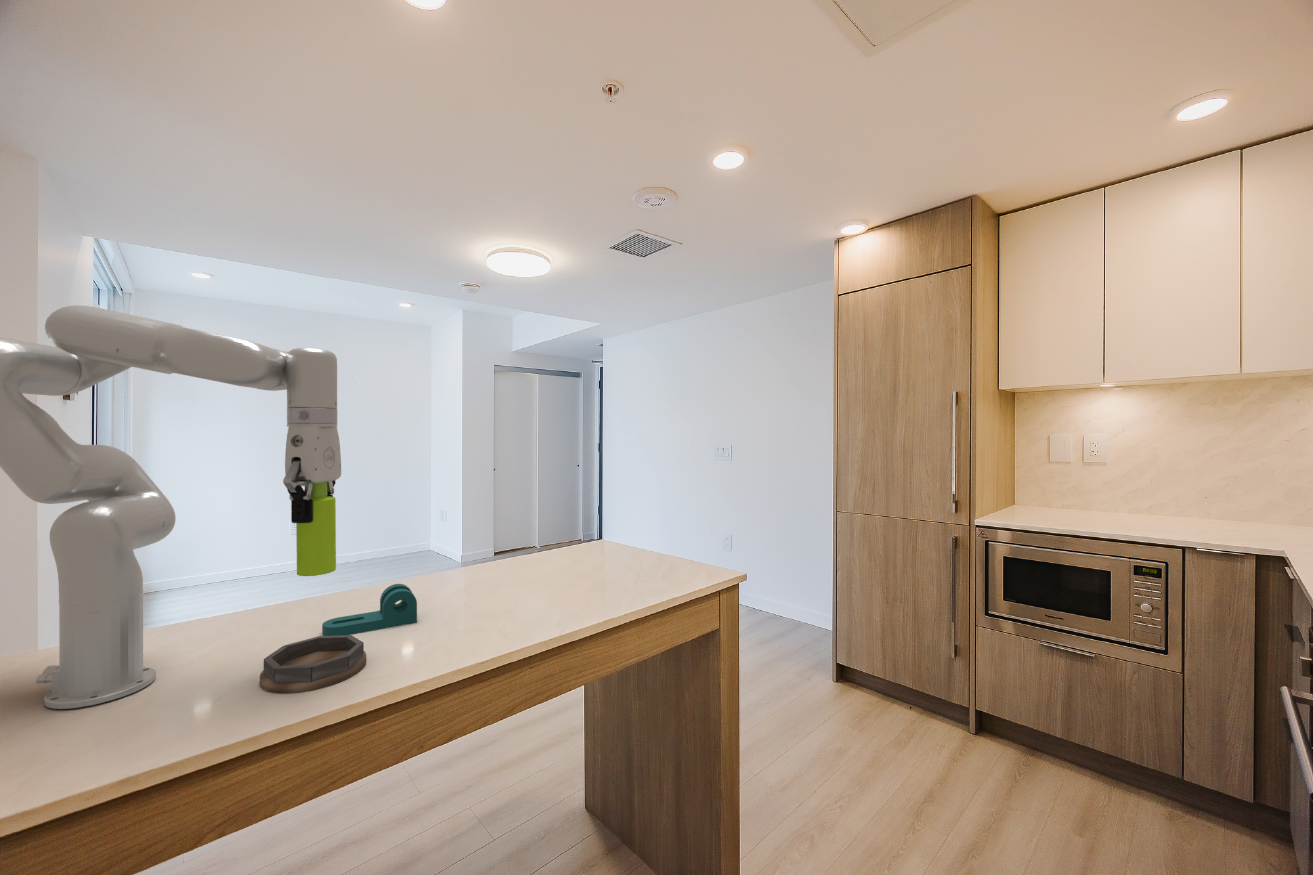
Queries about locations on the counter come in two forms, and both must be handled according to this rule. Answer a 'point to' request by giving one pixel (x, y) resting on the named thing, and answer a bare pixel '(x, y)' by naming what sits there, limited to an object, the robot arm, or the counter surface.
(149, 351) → the robot arm
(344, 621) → the bracket
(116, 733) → the counter surface
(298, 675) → the collar stand
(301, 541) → the soap dispenser
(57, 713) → the counter surface
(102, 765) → the counter surface
